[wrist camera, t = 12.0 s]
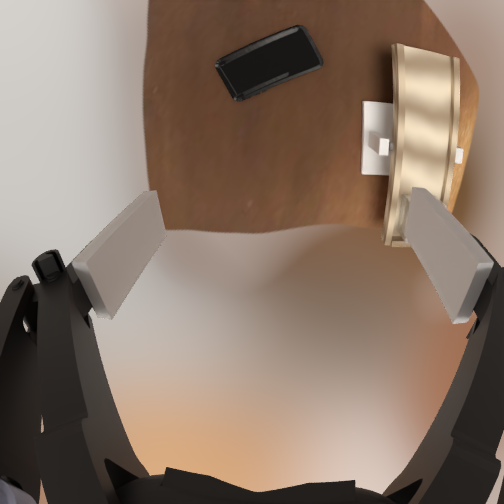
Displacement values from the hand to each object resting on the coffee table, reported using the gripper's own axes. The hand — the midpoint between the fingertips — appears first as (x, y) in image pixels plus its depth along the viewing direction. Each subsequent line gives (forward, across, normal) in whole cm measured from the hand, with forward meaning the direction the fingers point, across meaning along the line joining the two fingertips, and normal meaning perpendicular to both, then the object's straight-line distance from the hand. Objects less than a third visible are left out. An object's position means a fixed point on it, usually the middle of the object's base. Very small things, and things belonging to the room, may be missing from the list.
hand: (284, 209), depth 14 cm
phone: (+33, -2, +10) cm, 35 cm away
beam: (+29, +20, -2) cm, 35 cm away
